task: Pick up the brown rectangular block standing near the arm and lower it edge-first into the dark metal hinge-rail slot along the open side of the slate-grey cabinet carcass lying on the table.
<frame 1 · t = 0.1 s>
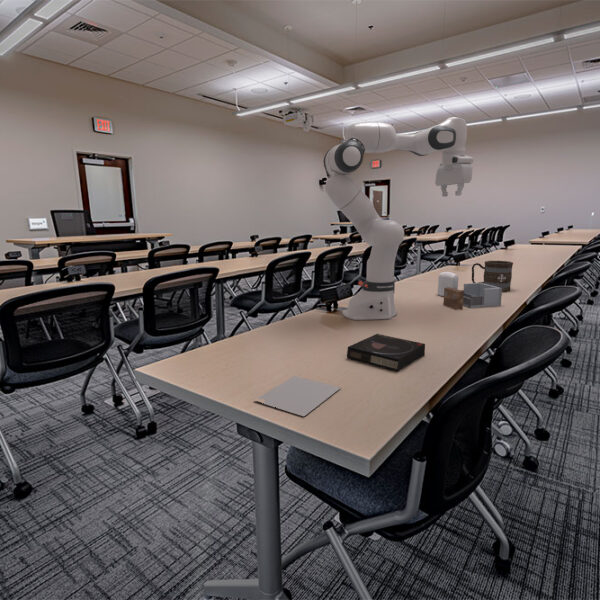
hand: (451, 196, 166), 48 cm above the table, fingers open, 8 cm apart
cabinet: (475, 303, 185), on the table
mug: (489, 290, 216), on the table
portable cd player: (385, 359, 120), on the table
photo printer: (447, 297, 200), on the table
brown rectangular block: (452, 307, 179), on the table
paper stack: (292, 386, 102), on the table
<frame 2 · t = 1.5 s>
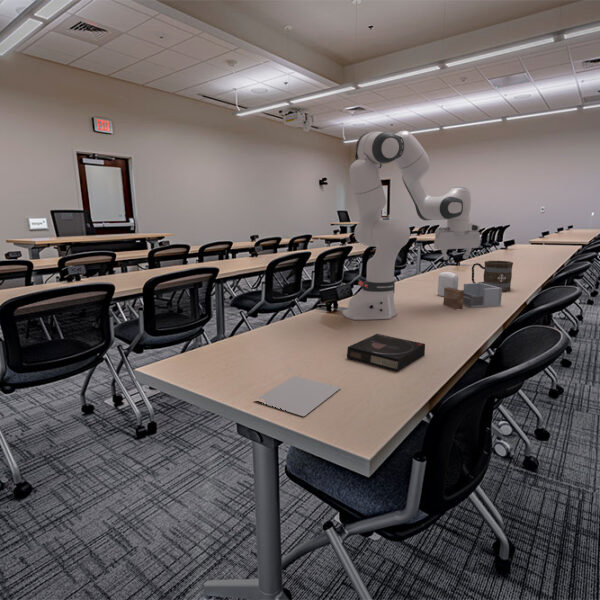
hand: (455, 259, 175), 21 cm above the table, fingers open, 8 cm apart
nothing on the table moved.
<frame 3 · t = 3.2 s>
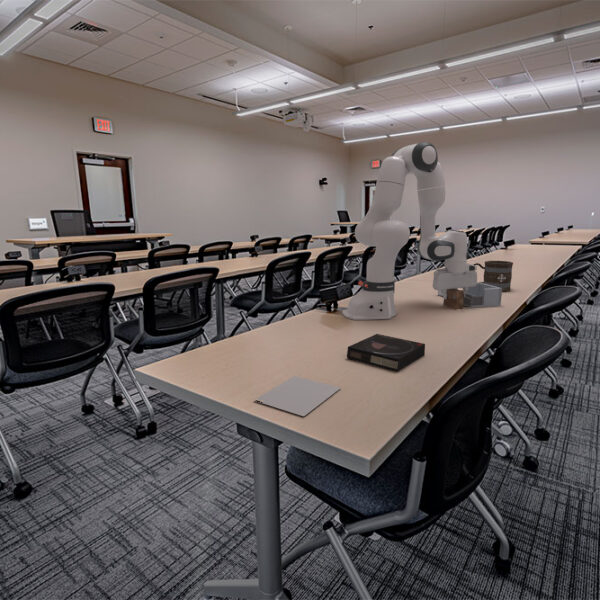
hand: (454, 298, 179), 4 cm above the table, fingers open, 7 cm apart
nothing on the table moved.
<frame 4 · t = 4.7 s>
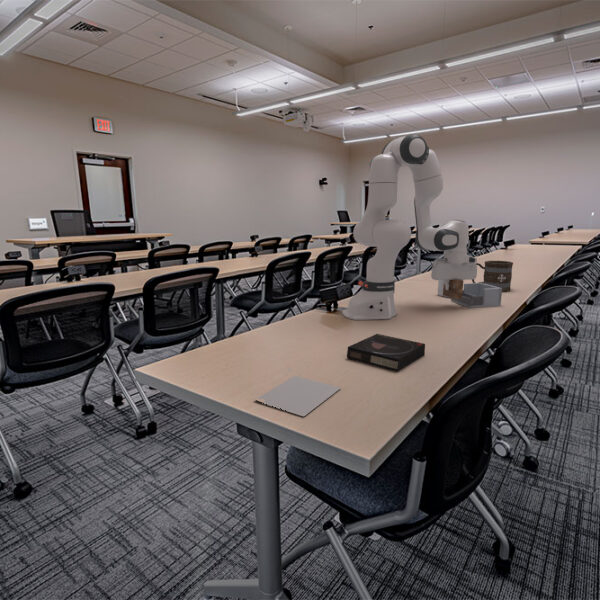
hand: (452, 289, 177), 8 cm above the table, fingers closed on brown rectangular block, 3 cm apart
brown rectangular block: (452, 297, 177), point 5 cm above the table, touching gripper
everything else where it was.
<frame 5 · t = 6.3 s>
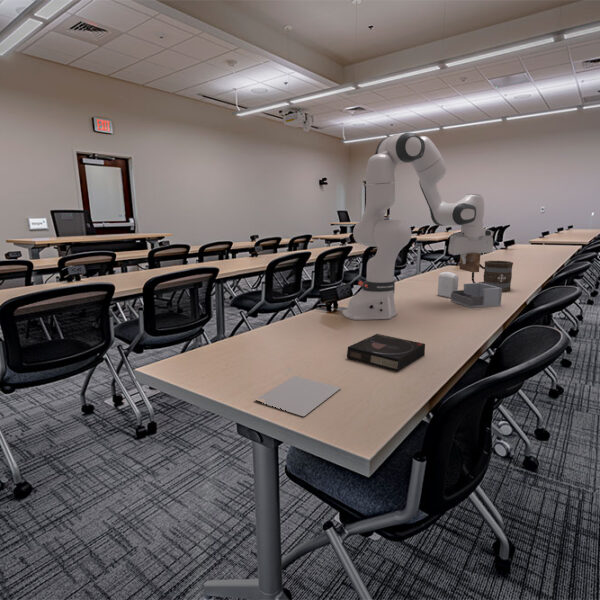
hand: (469, 263, 180), 19 cm above the table, fingers closed on brown rectangular block, 3 cm apart
brown rectangular block: (468, 270, 181), point 15 cm above the table, touching gripper
everything else where it was.
when the fingers open (5 cm above the table, at t = 8.8 s): brown rectangular block stays where it is, resting on cabinet.
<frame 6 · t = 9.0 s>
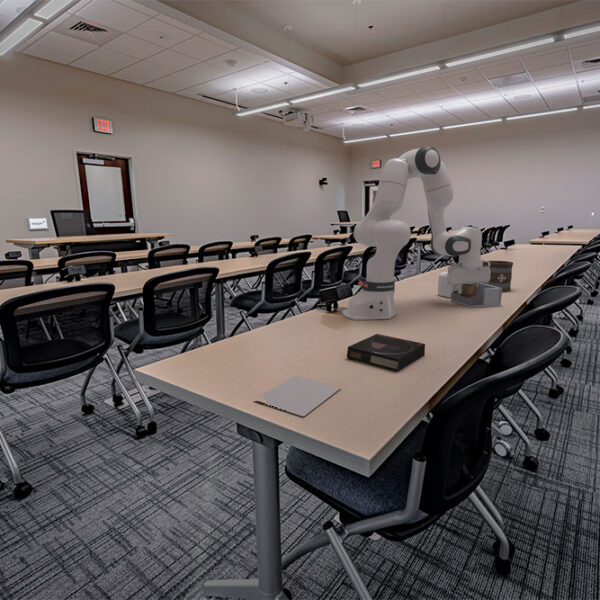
hand: (467, 293, 183), 5 cm above the table, fingers open, 5 cm apart
brown rectangular block: (466, 301, 184), point 1 cm above the table, touching cabinet
everything else where it was.
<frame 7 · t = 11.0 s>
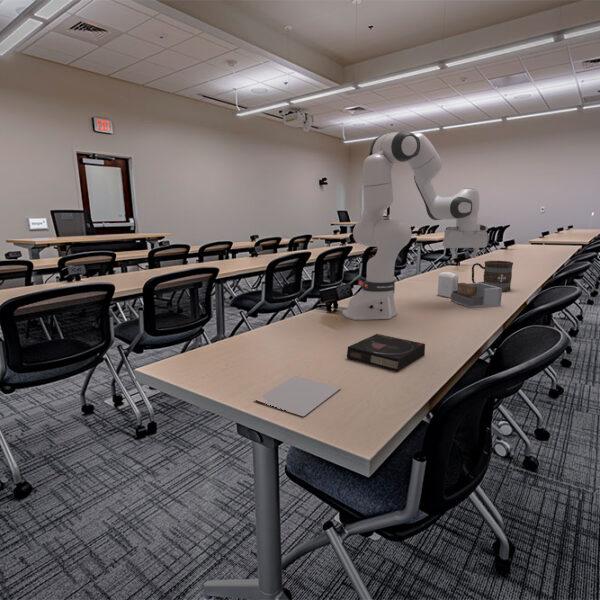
hand: (463, 258, 180), 21 cm above the table, fingers open, 8 cm apart
nothing on the table moved.
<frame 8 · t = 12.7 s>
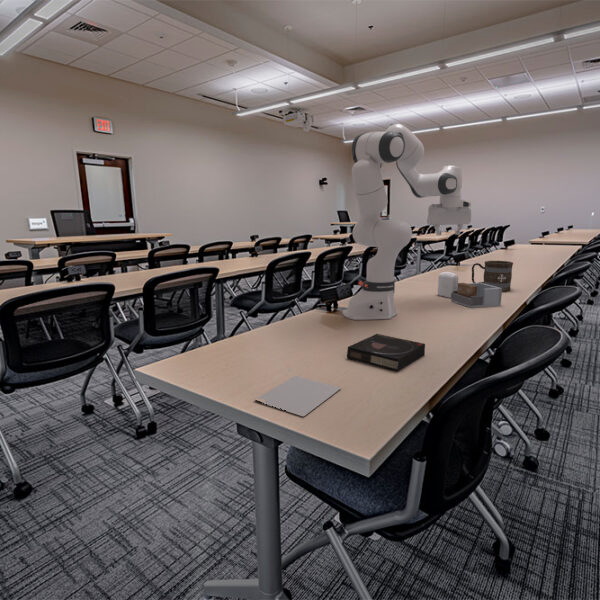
hand: (448, 235, 183), 31 cm above the table, fingers open, 8 cm apart
nothing on the table moved.
at the end: brown rectangular block 0.2 cm from the target spot on the cabinet, point 1.0 cm above the cabinet's base; brown rectangular block tilted 0°; the gripper is holding nothing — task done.
